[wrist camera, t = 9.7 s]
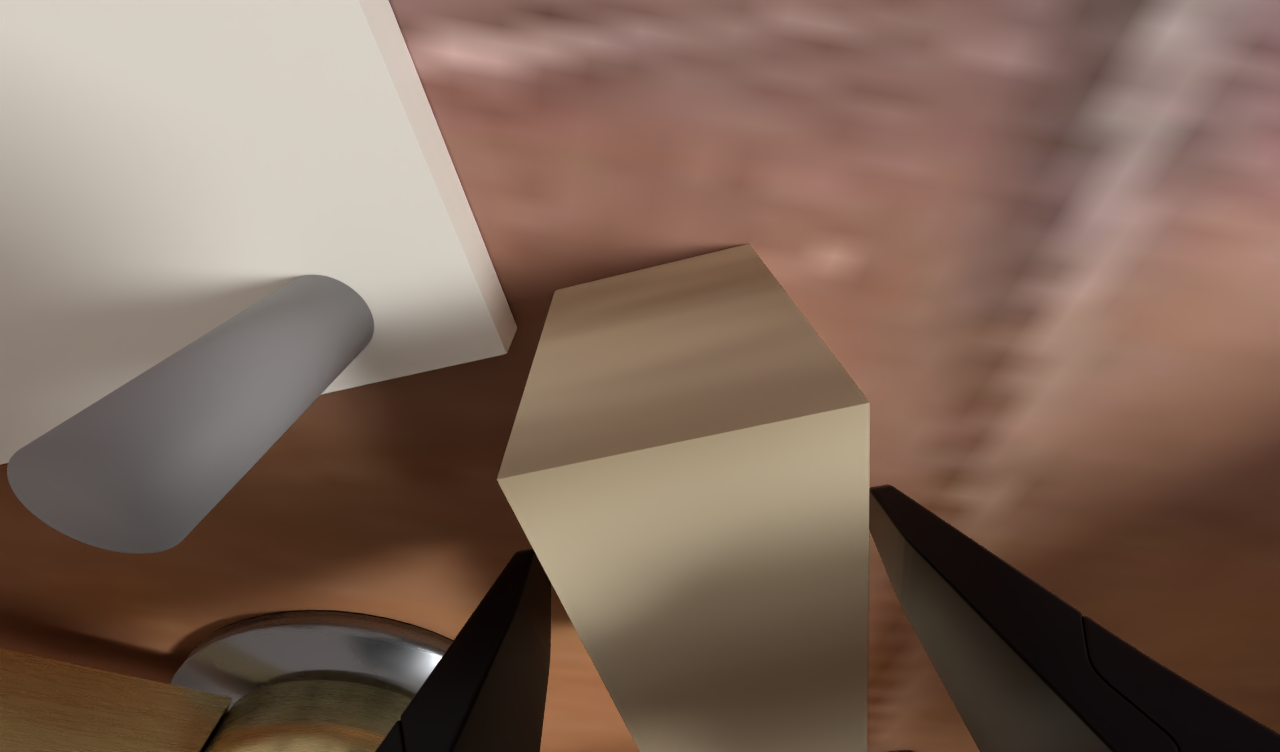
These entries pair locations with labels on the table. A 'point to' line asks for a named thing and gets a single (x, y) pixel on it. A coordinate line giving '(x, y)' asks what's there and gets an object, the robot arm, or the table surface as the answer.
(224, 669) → the base
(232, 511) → the table surface
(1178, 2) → the table surface
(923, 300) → the table surface
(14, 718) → the brass lever handle
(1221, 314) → the table surface
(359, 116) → the peg rack
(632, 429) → the beech bar
